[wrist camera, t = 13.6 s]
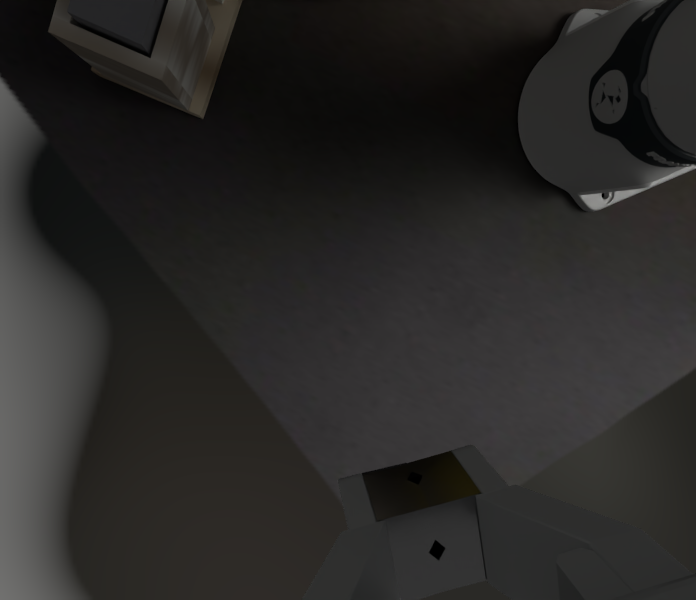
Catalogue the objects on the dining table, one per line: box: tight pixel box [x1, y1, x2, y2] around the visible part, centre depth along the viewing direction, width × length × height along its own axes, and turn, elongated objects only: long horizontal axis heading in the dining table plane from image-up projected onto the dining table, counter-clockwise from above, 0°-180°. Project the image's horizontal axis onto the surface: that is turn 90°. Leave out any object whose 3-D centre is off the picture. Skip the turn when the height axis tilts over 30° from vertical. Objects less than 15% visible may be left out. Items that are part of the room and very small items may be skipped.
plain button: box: [67, 0, 168, 58], centre depth 30 cm, size 4×4×6 cm
